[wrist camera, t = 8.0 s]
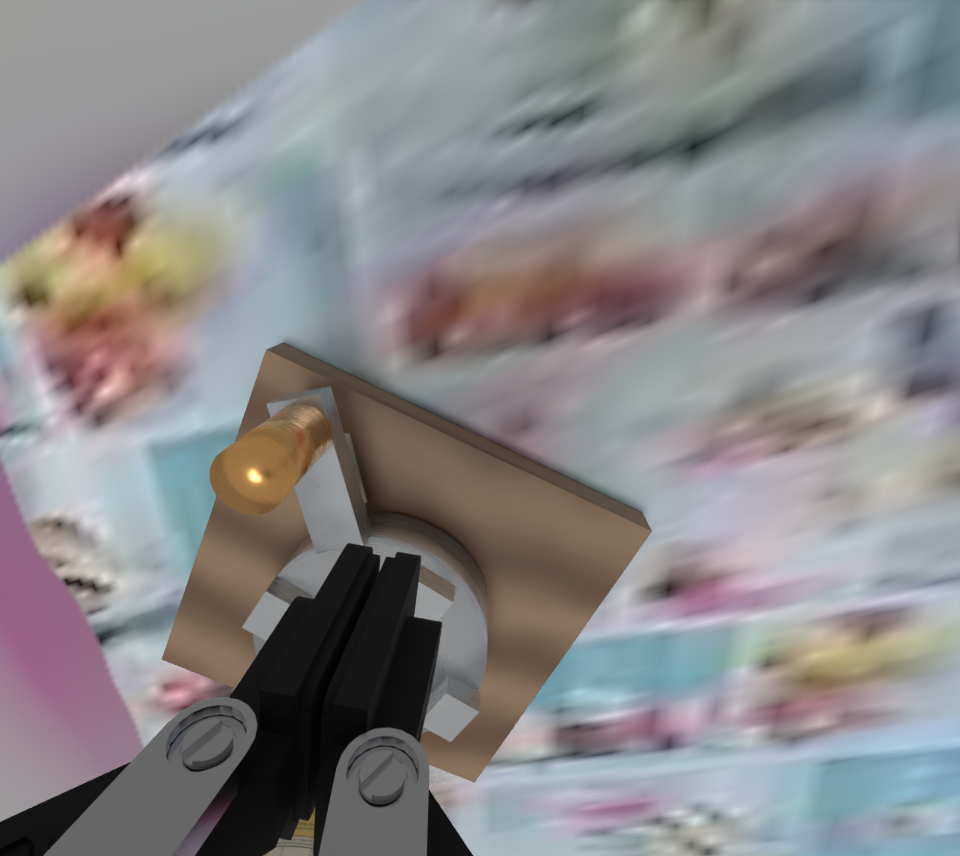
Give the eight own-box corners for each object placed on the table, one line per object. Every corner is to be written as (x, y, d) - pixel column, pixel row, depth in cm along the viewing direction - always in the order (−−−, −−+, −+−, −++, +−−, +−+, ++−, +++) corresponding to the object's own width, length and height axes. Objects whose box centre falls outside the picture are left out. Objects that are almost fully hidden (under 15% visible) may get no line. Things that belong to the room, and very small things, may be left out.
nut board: (283, 342, 27) (264, 350, 24) (642, 512, 29) (652, 533, 27) (181, 636, 34) (159, 661, 32) (476, 754, 36) (474, 785, 34)
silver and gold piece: (504, 673, 30) (504, 824, 22) (316, 692, 32) (252, 841, 24) (439, 359, 24) (406, 413, 16) (208, 399, 25) (71, 467, 17)
